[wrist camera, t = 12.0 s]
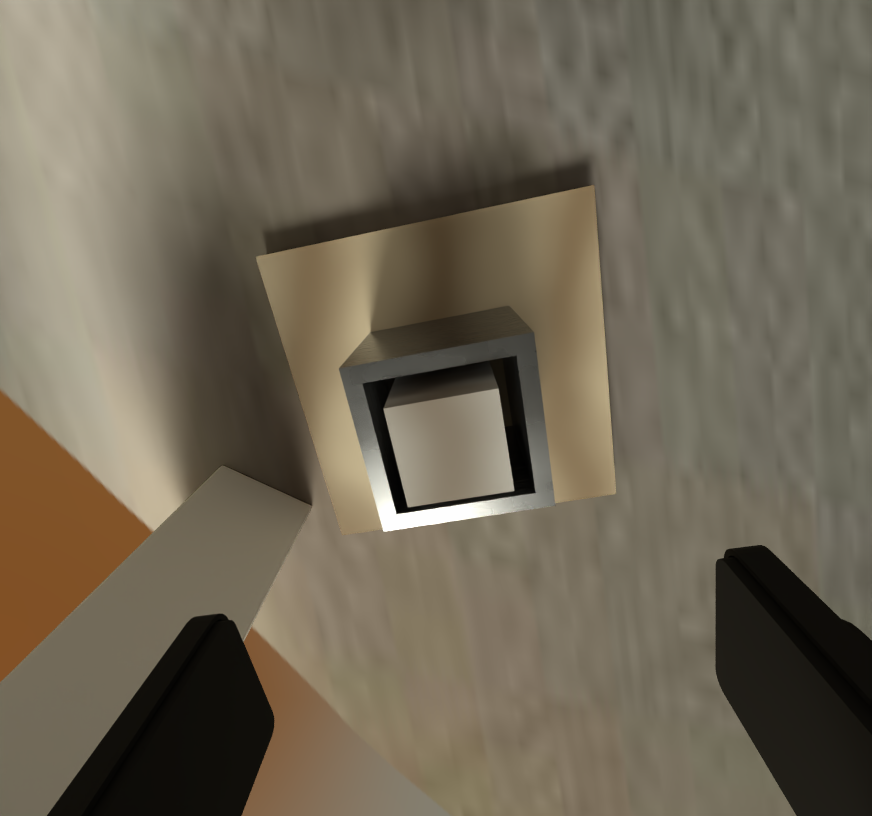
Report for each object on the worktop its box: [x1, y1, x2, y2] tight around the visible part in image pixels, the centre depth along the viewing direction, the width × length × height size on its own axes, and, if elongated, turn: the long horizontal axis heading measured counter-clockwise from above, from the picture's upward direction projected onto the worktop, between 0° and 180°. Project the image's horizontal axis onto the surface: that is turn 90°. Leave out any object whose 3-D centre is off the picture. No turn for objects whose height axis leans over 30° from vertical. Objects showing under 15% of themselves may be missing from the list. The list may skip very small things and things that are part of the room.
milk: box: [0, 466, 312, 816], centre depth 18 cm, size 6×6×22 cm
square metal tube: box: [339, 306, 555, 532], centre depth 21 cm, size 7×7×7 cm
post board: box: [256, 185, 616, 535], centre depth 21 cm, size 16×16×10 cm
